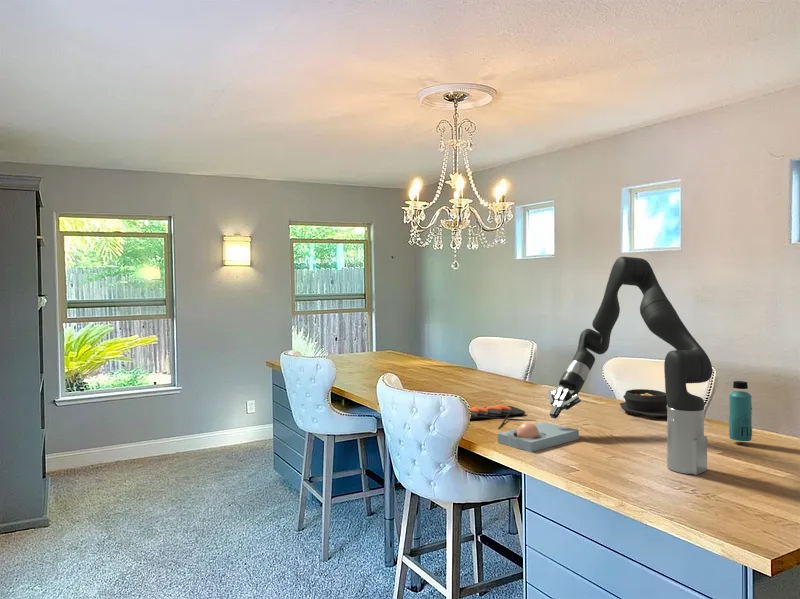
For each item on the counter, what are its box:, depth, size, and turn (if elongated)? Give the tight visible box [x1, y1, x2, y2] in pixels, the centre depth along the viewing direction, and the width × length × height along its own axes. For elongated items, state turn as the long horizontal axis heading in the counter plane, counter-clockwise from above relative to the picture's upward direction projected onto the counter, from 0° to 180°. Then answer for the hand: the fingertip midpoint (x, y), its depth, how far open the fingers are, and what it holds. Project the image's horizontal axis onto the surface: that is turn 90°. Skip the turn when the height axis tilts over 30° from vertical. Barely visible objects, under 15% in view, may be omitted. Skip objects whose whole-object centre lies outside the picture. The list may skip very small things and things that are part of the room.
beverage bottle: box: [728, 380, 753, 442], centre depth 189 cm, size 6×7×20 cm
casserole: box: [619, 388, 667, 417], centre depth 234 cm, size 25×19×8 cm
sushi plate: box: [469, 404, 537, 430], centre depth 227 cm, size 29×30×4 cm
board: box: [497, 421, 580, 453], centre depth 195 cm, size 14×24×3 cm, turn 127°
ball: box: [516, 422, 539, 438], centre depth 191 cm, size 7×7×7 cm
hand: (552, 416), depth 200 cm, fingers closed
